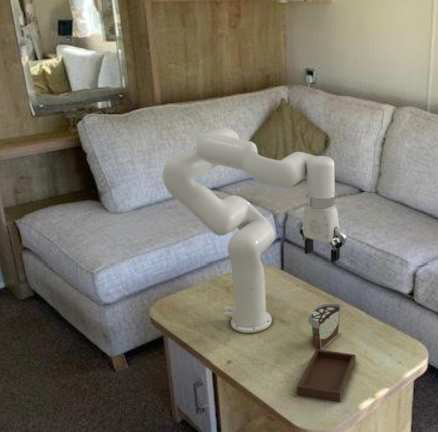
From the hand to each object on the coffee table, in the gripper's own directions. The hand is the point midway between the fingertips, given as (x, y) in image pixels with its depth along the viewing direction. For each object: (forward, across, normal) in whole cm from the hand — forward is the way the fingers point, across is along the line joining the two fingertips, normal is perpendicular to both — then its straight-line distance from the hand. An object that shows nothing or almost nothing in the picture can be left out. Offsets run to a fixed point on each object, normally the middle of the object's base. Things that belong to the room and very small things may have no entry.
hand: (322, 256), depth 179 cm
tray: (+27, +14, -15) cm, 34 cm away
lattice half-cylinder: (+27, 0, -2) cm, 27 cm away
